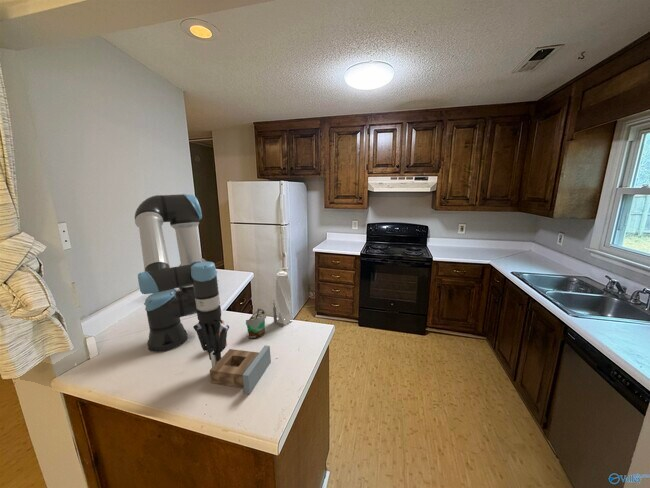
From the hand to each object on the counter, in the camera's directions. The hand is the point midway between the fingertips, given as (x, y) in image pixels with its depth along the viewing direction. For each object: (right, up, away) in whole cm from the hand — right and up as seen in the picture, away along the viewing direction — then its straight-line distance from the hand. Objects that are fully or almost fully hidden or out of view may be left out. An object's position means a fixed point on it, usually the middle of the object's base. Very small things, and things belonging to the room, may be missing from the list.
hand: (216, 367), depth 94 cm
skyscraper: (+19, +5, +37) cm, 42 cm away
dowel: (-4, +1, +16) cm, 16 cm away
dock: (+5, -3, 0) cm, 6 cm away
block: (+8, -1, -1) cm, 8 cm away
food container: (+9, +3, +26) cm, 28 cm away
